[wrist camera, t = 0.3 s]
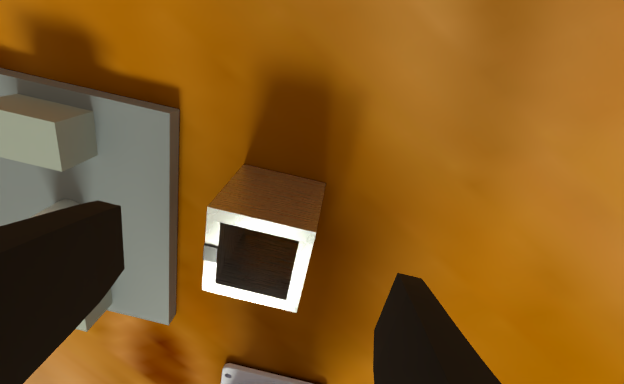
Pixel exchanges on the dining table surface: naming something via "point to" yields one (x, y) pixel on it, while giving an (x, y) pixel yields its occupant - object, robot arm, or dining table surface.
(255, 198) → the box
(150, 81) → the dining table surface
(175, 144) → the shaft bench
